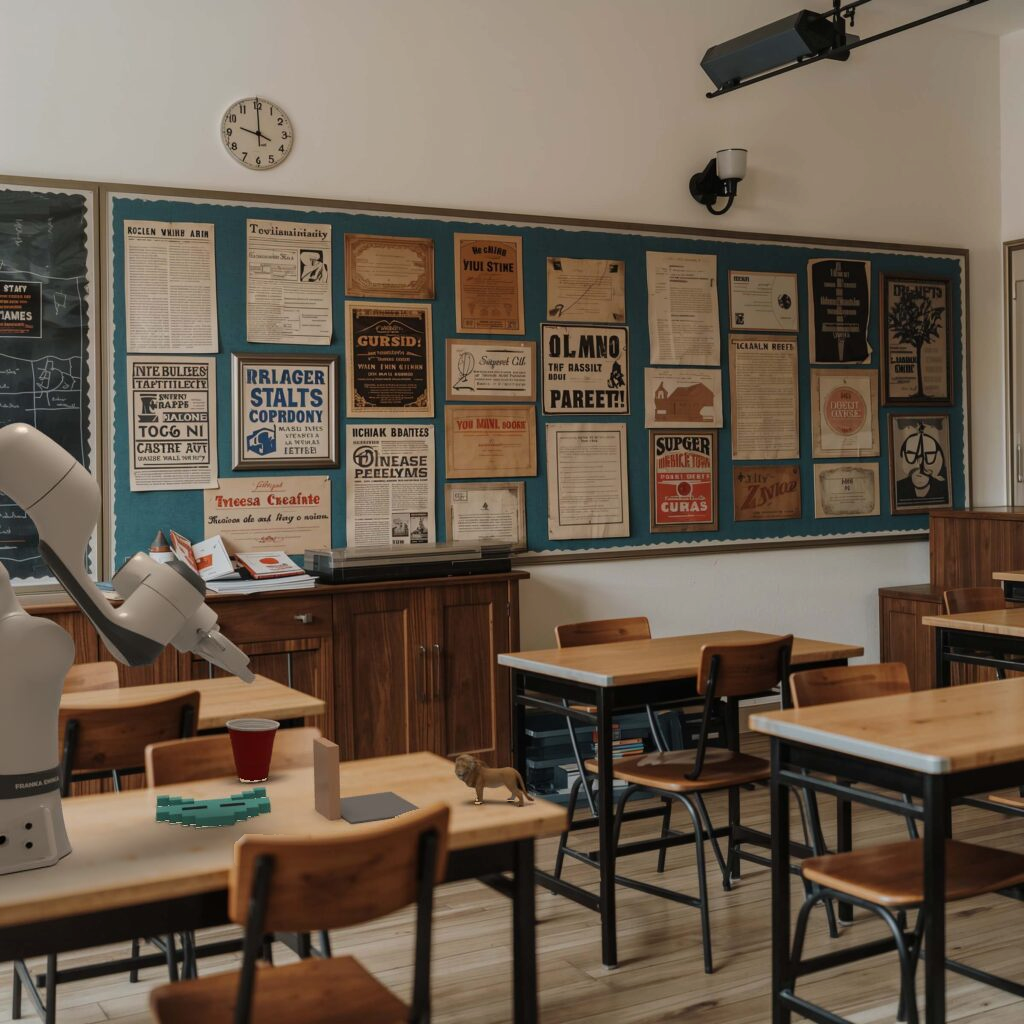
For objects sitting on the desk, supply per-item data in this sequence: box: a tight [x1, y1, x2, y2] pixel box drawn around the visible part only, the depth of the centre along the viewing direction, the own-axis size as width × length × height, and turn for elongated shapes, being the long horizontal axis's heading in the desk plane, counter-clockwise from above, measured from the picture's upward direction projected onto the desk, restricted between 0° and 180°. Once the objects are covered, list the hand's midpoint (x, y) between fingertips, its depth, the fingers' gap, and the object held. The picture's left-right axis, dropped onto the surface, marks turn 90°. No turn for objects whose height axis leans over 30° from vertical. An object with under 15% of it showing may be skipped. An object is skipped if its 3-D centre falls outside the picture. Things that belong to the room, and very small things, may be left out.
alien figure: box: [155, 786, 271, 828], centre depth 224 cm, size 20×2×20 cm
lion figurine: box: [454, 754, 535, 806], centre depth 227 cm, size 15×5×9 cm, turn 83°
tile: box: [312, 737, 342, 821], centre depth 222 cm, size 2×9×13 cm, turn 26°
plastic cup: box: [225, 718, 281, 781], centre depth 250 cm, size 11×11×12 cm
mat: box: [340, 791, 420, 825], centre depth 225 cm, size 14×18×1 cm
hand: (250, 679), depth 216 cm, fingers closed
